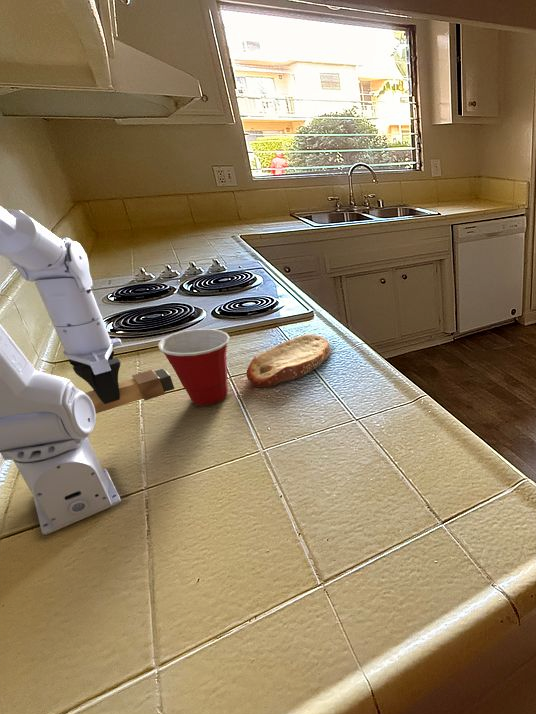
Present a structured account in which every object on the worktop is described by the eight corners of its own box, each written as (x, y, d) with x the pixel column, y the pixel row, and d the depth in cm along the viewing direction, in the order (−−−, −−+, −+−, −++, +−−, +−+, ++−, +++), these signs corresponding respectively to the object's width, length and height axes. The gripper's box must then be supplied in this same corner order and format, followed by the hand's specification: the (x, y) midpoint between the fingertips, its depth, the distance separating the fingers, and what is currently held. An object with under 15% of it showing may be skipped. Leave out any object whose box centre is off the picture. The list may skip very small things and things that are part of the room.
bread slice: (324, 339, 110) (321, 325, 108) (345, 370, 96) (342, 353, 94) (241, 356, 102) (237, 340, 100) (251, 392, 88) (246, 374, 86)
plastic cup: (230, 412, 81) (212, 350, 76) (165, 414, 81) (143, 352, 75) (252, 382, 91) (238, 325, 86) (195, 384, 90) (177, 327, 85)
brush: (85, 420, 72) (77, 402, 71) (80, 409, 75) (72, 392, 73) (175, 390, 80) (170, 374, 79) (167, 382, 83) (162, 366, 81)
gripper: (121, 325, 67) (150, 404, 73) (100, 302, 76) (127, 374, 82) (59, 339, 63) (95, 422, 69) (44, 313, 72) (78, 389, 78)
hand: (109, 397), depth 75 cm, fingers closed on brush, 2 cm apart
